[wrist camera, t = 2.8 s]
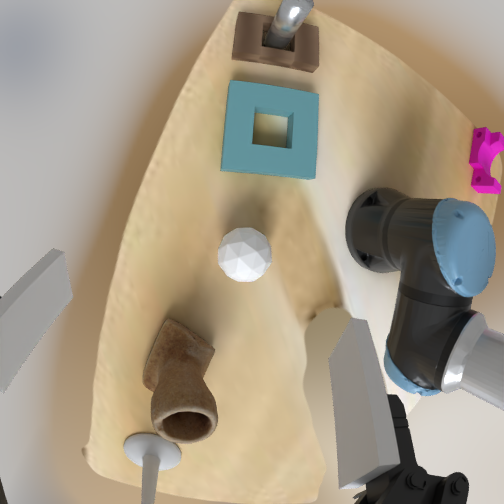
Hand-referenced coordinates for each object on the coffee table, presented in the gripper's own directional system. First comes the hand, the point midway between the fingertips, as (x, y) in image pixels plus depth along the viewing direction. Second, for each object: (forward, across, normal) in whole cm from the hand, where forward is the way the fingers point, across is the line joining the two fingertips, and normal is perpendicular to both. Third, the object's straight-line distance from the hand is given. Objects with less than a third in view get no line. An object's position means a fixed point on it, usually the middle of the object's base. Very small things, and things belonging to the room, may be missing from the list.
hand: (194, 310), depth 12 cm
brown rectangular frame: (+44, +1, -19) cm, 48 cm away
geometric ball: (+30, -1, +14) cm, 34 cm away
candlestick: (+11, +9, +57) cm, 59 cm away
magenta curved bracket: (+52, -51, -12) cm, 74 cm away
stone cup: (+21, +5, +33) cm, 40 cm away
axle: (+44, +1, -19) cm, 48 cm away
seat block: (+38, -1, -4) cm, 38 cm away
